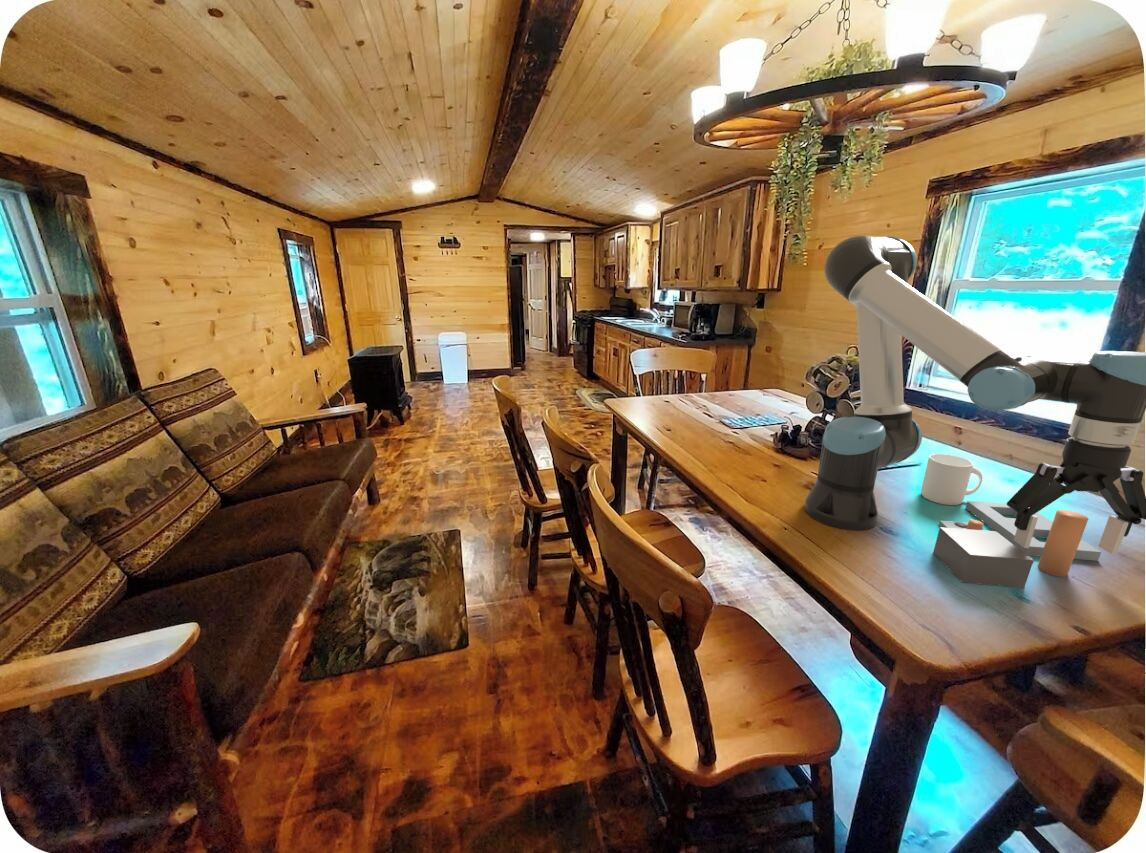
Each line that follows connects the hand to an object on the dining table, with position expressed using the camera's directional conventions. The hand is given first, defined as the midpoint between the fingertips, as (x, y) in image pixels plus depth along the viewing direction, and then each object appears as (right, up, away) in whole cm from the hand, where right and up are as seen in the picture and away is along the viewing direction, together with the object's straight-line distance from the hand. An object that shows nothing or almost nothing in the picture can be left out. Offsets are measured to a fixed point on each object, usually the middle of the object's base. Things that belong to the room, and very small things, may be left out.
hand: (1063, 547), depth 83 cm
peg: (0, -5, +2) cm, 5 cm away
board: (-5, -1, +15) cm, 16 cm away
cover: (-14, -5, +3) cm, 15 cm away
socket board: (+8, -1, +15) cm, 17 cm away
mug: (+4, +4, +30) cm, 31 cm away
